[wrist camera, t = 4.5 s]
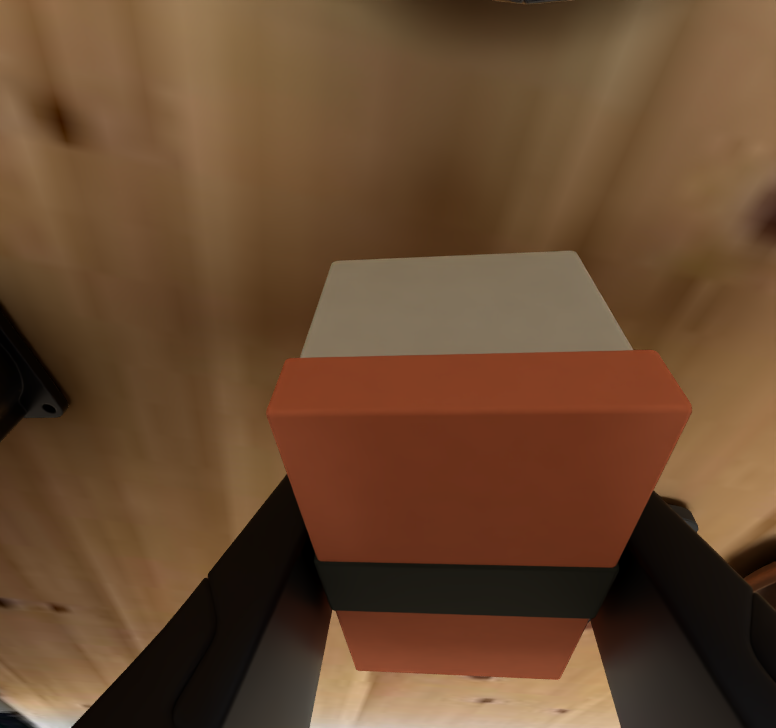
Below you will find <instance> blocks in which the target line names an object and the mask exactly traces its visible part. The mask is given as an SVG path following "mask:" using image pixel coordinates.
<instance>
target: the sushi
mask: <svg viewBox="0 0 776 728" xmlns="http://www.w3.org/2000/svg"><path fill="white" fill-rule="evenodd" d="M691 413H692V406H691V403H690V402H689V400H688V399H687V397H686V396H685V394H684V393H683V391H682V389H681V388H680V386H679V385H678V383H677V382H676V380H675V379H674V377H673V376H672V374H671V372H670V371H669V369H668V368H667V366H666V365H665V363H664V362H663V360H662V359H661V357H660V355H659V354H658V352H656V351H653V350H633V348H632V347H631V345H630V343H629V342H628V340H627V338H626V336H625V335H624V333H623V331H622V330H621V328H620V326H619V324H618V323H617V321H616V319H615V318H614V316H613V314H612V312H611V311H610V309H609V307H608V306H607V304H606V302H605V300H604V299H603V297H602V295H601V294H600V292H599V290H598V288H597V287H596V285H595V283H594V282H593V280H592V278H591V276H590V275H589V273H588V271H587V270H586V268H585V266H584V264H583V263H582V261H581V259H580V258H579V256H578V254H577V252H574V251H552V252H529V253H506V254H483V255H460V256H437V257H414V258H390V259H367V260H344V261H335V262H333V263H332V264H331V267H330V270H329V273H328V276H327V279H326V282H325V285H324V288H323V291H322V294H321V297H320V300H319V303H318V306H317V309H316V311H315V314H314V317H313V320H312V323H311V326H310V329H309V332H308V335H307V338H306V341H305V344H304V347H303V350H302V353H301V356H300V358H289V359H287V360H285V363H284V365H283V368H282V371H281V373H280V376H279V379H278V381H277V384H276V387H275V389H274V392H273V395H272V397H271V400H270V403H269V405H268V408H267V412H266V414H267V418H268V421H269V424H270V427H271V429H272V432H273V435H274V438H275V441H276V444H277V446H278V449H279V452H280V455H281V458H282V461H283V463H284V466H285V469H286V472H287V475H288V478H289V480H290V483H291V486H292V489H293V492H294V495H295V497H296V500H297V503H298V506H299V509H300V512H301V514H302V517H303V520H304V523H305V526H306V529H307V531H308V534H309V537H310V540H311V543H312V546H313V548H314V551H315V557H314V564H315V567H316V569H317V572H318V575H319V578H320V580H321V583H322V586H323V589H324V591H325V594H326V597H327V600H328V602H329V605H330V608H331V609H332V610H334V611H336V613H337V616H338V619H339V622H340V625H341V628H342V630H343V633H344V636H345V639H346V642H347V645H348V647H349V650H350V653H351V656H352V659H353V662H354V664H355V667H356V669H357V670H358V671H378V672H400V673H423V674H445V675H467V676H489V677H511V678H533V679H555V680H558V679H560V678H561V676H562V674H563V672H564V670H565V668H566V666H567V664H568V662H569V660H570V658H571V655H572V653H573V651H574V649H575V647H576V645H577V643H578V641H579V639H580V637H581V635H582V633H583V631H584V629H585V627H586V625H587V623H588V621H589V619H593V618H595V617H596V615H597V613H598V611H599V610H600V608H601V606H602V604H603V602H604V600H605V598H606V596H607V594H608V592H609V590H610V588H611V586H612V584H613V582H614V580H615V578H616V576H617V574H618V572H619V564H618V561H619V558H620V556H621V554H622V552H623V550H624V548H625V546H626V544H627V542H628V540H629V538H630V536H631V534H632V532H633V530H634V528H635V526H636V524H637V522H638V520H639V518H640V516H641V514H642V512H643V510H644V508H645V506H646V504H647V502H648V500H649V498H650V496H651V494H652V492H653V490H654V488H655V486H656V484H657V482H658V480H659V478H660V476H661V474H662V472H663V470H664V468H665V466H666V464H667V461H668V459H669V457H670V455H671V453H672V451H673V449H674V447H675V445H676V443H677V441H678V439H679V437H680V435H681V433H682V431H683V429H684V427H685V425H686V423H687V421H688V419H689V417H690V415H691Z"/></svg>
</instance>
